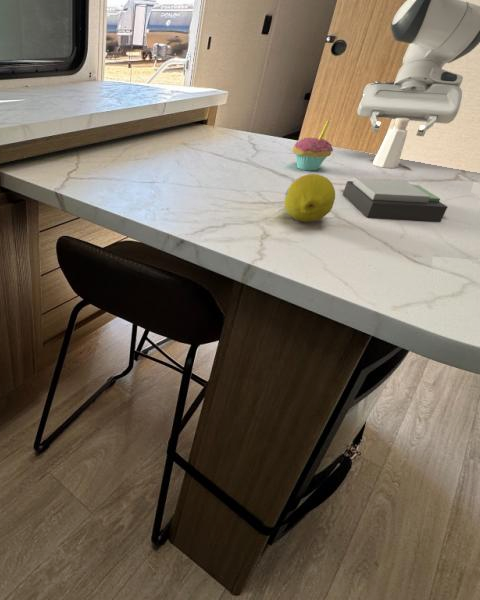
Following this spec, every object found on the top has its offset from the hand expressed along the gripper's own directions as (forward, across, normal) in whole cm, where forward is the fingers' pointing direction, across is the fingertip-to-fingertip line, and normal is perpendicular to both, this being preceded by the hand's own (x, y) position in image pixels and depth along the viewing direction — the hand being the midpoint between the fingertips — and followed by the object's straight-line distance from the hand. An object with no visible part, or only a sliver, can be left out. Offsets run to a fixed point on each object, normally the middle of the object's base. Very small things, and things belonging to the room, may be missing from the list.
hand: (397, 132), depth 101 cm
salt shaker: (+7, 0, +4) cm, 8 cm away
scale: (+31, +2, -20) cm, 36 cm away
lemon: (+42, -10, -31) cm, 54 cm away
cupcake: (+16, -16, -5) cm, 23 cm away
